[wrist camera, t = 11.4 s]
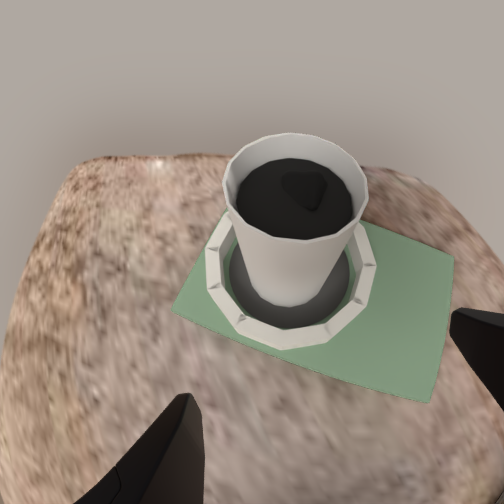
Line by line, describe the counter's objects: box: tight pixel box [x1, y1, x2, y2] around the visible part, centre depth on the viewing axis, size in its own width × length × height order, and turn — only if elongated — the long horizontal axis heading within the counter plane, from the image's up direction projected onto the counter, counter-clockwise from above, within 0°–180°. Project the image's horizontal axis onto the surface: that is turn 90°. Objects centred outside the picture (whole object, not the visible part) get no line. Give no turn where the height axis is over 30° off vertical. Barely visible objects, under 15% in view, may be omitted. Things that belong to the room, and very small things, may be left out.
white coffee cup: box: [222, 133, 369, 307], centre depth 17 cm, size 7×7×10 cm
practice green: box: [171, 208, 454, 403], centre depth 20 cm, size 21×13×3 cm, turn 67°
